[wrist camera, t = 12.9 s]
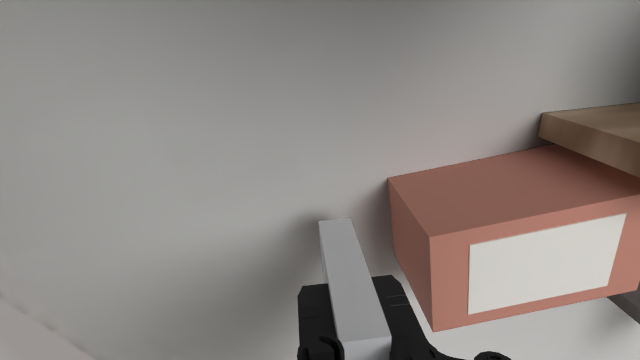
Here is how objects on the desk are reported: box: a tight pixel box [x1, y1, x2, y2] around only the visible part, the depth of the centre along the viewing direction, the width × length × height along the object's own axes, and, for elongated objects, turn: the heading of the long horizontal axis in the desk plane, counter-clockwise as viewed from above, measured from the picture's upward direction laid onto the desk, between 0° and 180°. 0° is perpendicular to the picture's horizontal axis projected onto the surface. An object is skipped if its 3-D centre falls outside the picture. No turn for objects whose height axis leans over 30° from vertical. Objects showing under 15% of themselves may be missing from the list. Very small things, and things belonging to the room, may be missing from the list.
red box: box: [388, 144, 640, 332], centre depth 15 cm, size 5×9×6 cm, turn 100°
